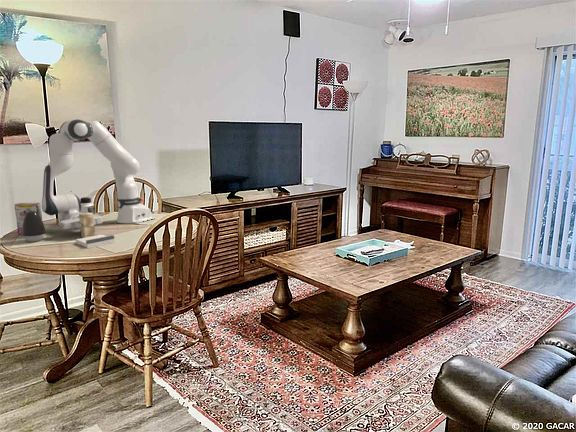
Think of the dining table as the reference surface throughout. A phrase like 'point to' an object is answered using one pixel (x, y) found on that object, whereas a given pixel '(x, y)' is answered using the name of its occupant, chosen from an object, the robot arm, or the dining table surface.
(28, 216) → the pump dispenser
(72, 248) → the dining table surface
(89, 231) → the oak block
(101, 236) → the dock
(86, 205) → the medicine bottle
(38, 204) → the candy bar box
